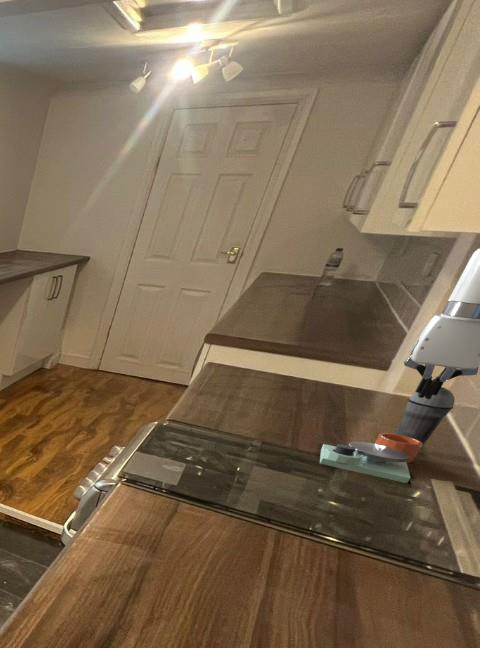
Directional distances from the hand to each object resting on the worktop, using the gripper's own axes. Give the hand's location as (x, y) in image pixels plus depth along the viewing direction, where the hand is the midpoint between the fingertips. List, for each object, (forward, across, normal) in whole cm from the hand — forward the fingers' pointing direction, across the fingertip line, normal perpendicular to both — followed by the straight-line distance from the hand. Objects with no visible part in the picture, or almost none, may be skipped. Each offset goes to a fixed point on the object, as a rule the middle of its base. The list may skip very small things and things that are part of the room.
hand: (423, 396), depth 127 cm
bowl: (+15, 0, 0) cm, 15 cm away
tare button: (+12, +9, +14) cm, 21 cm away
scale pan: (+15, +4, +9) cm, 18 cm away
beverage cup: (+15, -3, -11) cm, 19 cm away
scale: (+15, +5, +10) cm, 19 cm away
